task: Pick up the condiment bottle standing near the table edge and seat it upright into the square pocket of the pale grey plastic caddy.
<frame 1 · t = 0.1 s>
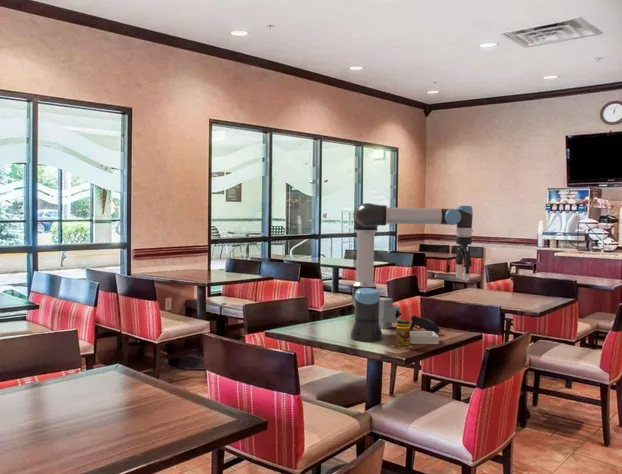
hand: (462, 278, 294), 28 cm above the table, tool pointing down, fingers open, 13 cm apart
condiment: (401, 347, 265), on the table
circuit breaker: (387, 328, 309), on the table
gun: (425, 334, 295), on the table
caddy: (422, 341, 277), on the table
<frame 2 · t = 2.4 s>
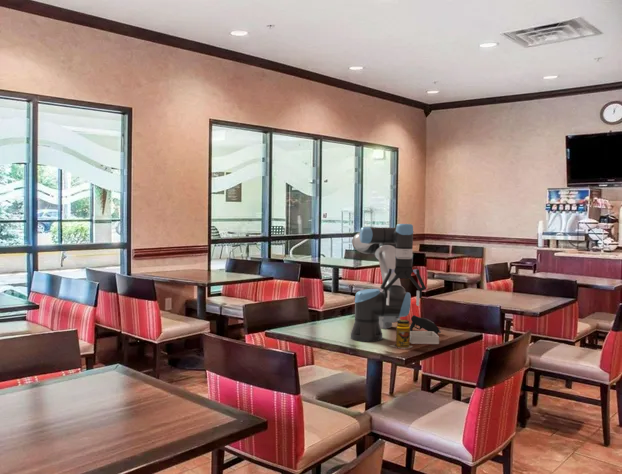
hand: (402, 305, 265), 19 cm above the table, tool pointing down, fingers open, 13 cm apart
nothing on the table moved.
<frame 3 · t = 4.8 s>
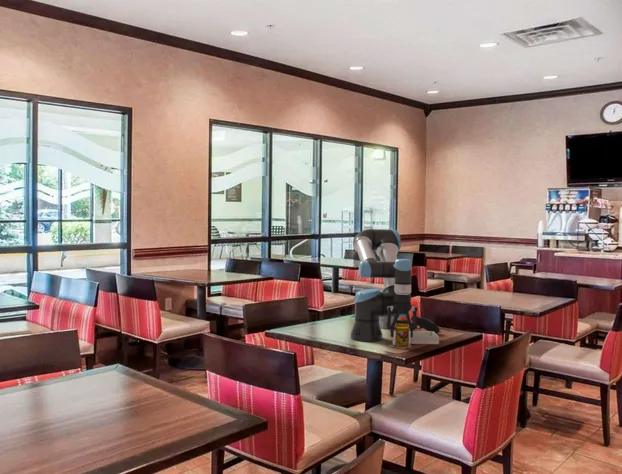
hand: (401, 344, 265), 1 cm above the table, tool pointing down, fingers closed on condiment, 6 cm apart
condiment: (400, 346, 265), on the table, touching gripper
everything else where it was.
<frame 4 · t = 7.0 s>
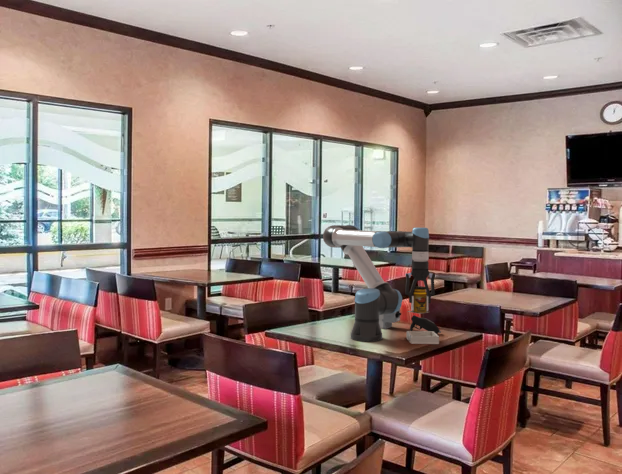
hand: (419, 310, 274), 15 cm above the table, tool pointing down, fingers closed on condiment, 6 cm apart
condiment: (418, 312, 274), point 14 cm above the table, touching gripper
everything else where it was.
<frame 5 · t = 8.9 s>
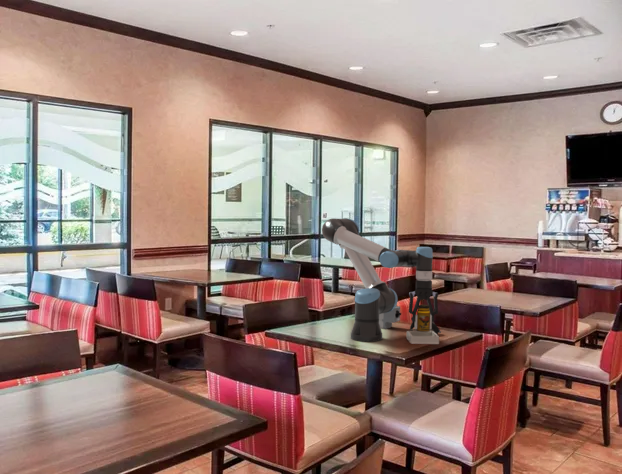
hand: (422, 328, 277), 6 cm above the table, tool pointing down, fingers closed on condiment, 6 cm apart
condiment: (421, 330, 277), point 5 cm above the table, touching gripper
everything else where it was.
when the fingers open (4 cm above the table, at t = 9.6 s): condiment stays where it is, resting on caddy.
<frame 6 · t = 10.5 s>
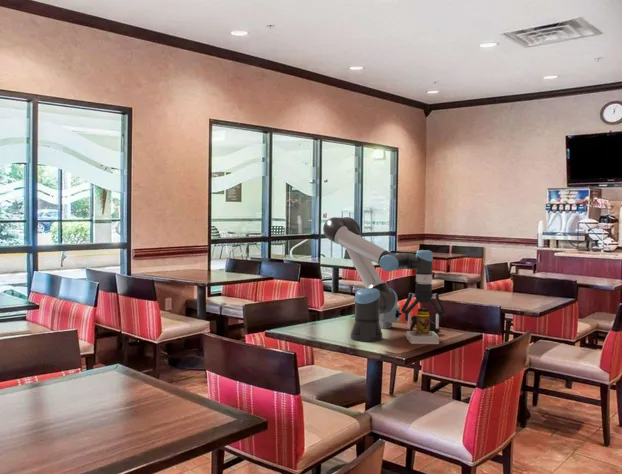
hand: (422, 328, 277), 6 cm above the table, tool pointing down, fingers open, 13 cm apart
condiment: (421, 334, 277), point 3 cm above the table, touching caddy
everything else where it was.
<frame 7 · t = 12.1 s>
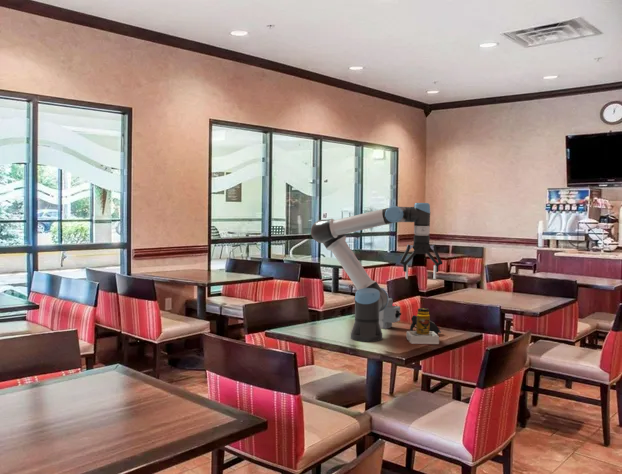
hand: (420, 278, 284), 29 cm above the table, tool pointing down, fingers open, 13 cm apart
nothing on the table moved.
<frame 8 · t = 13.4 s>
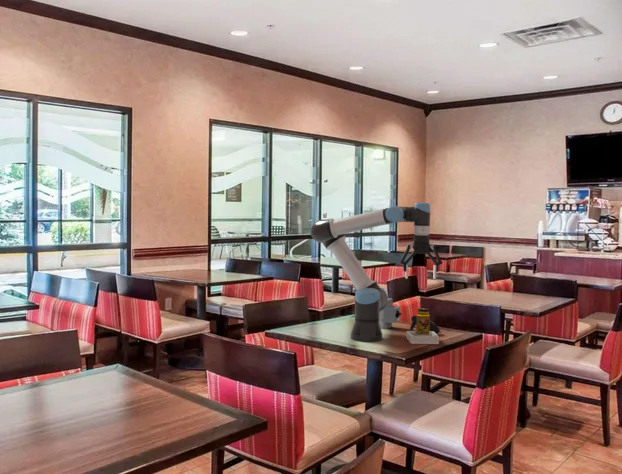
hand: (420, 278, 284), 29 cm above the table, tool pointing down, fingers open, 13 cm apart
nothing on the table moved.
at the end: condiment 0.6 cm off-centre on the caddy, point 3.3 cm above the caddy's base; condiment tilted 0°; the gripper is holding nothing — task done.
